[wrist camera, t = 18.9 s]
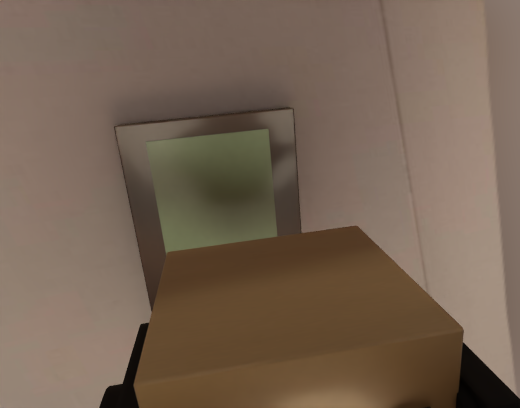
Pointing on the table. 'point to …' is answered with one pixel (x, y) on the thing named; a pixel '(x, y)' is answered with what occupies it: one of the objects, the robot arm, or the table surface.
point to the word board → (209, 182)
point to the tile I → (296, 329)
